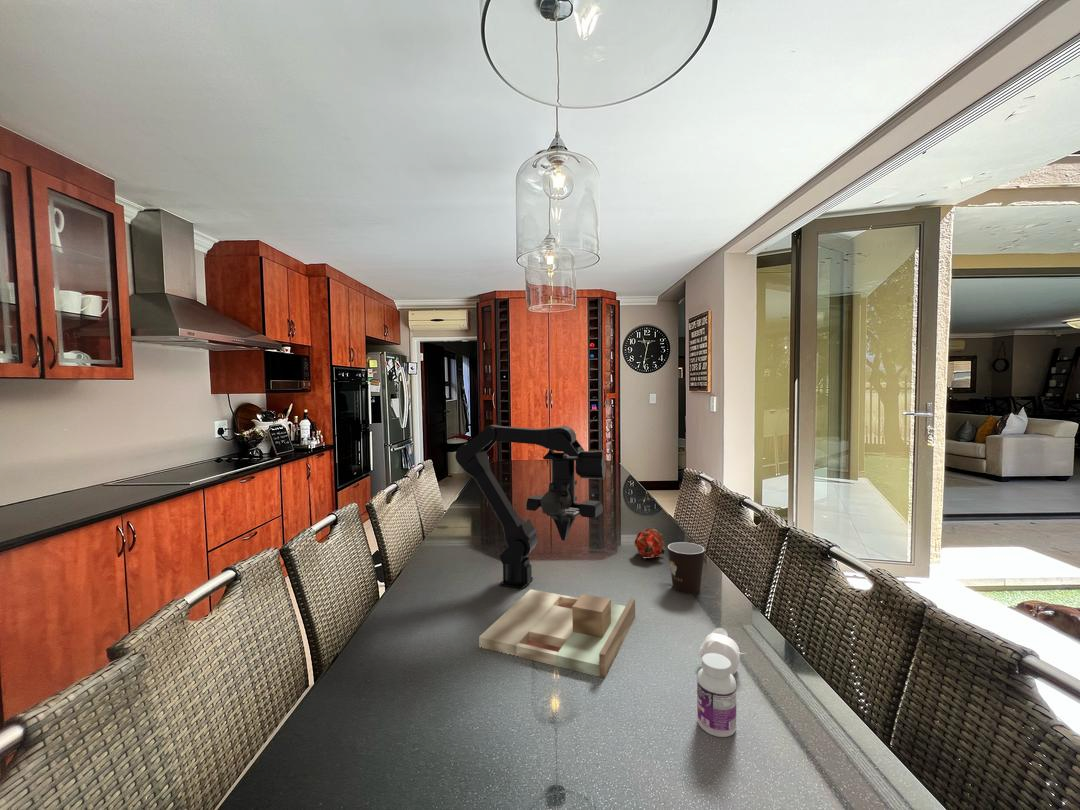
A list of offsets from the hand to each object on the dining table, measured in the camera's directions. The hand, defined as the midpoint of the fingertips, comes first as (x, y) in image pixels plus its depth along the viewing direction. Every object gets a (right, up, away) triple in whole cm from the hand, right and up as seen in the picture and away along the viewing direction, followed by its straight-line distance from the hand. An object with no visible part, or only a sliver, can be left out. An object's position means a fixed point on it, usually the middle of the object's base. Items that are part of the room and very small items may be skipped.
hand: (563, 540), depth 115 cm
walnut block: (+4, -11, -23) cm, 26 cm away
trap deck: (-2, -13, -20) cm, 24 cm away
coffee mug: (+30, -12, 0) cm, 32 cm away
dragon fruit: (+26, -11, +21) cm, 35 cm away
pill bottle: (+20, -13, -48) cm, 53 cm away
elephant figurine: (+26, -13, -34) cm, 44 cm away
